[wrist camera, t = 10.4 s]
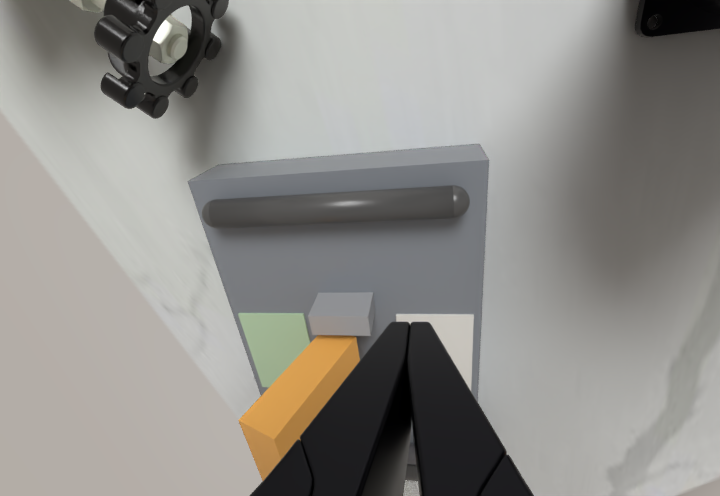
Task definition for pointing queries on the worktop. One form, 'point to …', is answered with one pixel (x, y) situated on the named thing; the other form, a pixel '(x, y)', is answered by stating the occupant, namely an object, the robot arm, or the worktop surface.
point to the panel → (350, 251)
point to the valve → (153, 48)
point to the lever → (297, 398)
